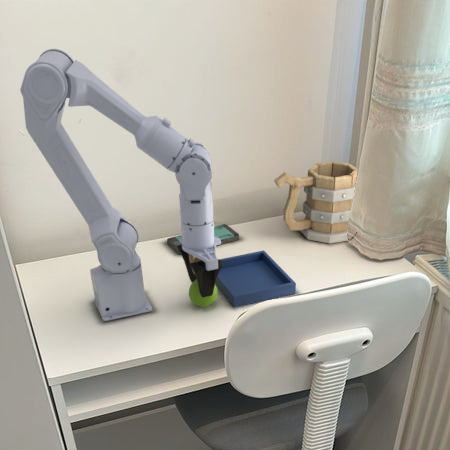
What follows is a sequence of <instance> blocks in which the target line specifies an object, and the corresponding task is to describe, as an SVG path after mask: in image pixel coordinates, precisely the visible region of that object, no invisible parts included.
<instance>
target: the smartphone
mask: <svg viewBox="0 0 450 450" xmlns="http://www.w3.org/2000/svg"><path fill="white" fill-rule="evenodd" d="M214 237H218V238H219V239H220V240H221V244H220V245H224V244H228V243H231V242H235V241H239V240H240V234H239V233H238V232H237V231H235V230H234V229H233V228H231V226H229V225H228V224H227V223H223V224H219V225H214ZM166 244H167V245H168V246H169V247H170V249H172V250H173V251H174V252H175V253H176V254H177V255H179V256H182V255H181V253H180V252H179V250H178V248H177V246H178V245H181V244H182V234H180V235H175V236H171V237H168V238H167V239H166ZM217 246H218V245H216V247H217Z"/></svg>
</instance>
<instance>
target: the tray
mask: <svg viewBox="0 0 450 450" xmlns="http://www.w3.org/2000/svg"><path fill="white" fill-rule="evenodd" d="M219 259H220V260H221V261H222V263H223V267H222V268H221V270H220V272H219V274H218V276H217V279H216V282H215V285H216V287H217V288H218V289H219V290H220V291H221V293H222V294H223V296H224V297H225V298H226V299H227V300H228V302H229V303H230V305H232V307H233V308H237V307H242V306H246V305H250V304H255V303H259V302H260V303H261V302H264V301H269V300H274V299H278V298H283V297H286V296H291V295H296V290H297V289H296V287H297V283H296V282H295V280H294V279H292V277H291V276H290V275H288V274H287V272H286V271H284V269H283V268H282V267H281V266H280V265H279V264H278V263H277V262H276V261H275V260H274V259H273V258H272V257H271V256H270V255H269V253H267V252H266V251H265V250H259V251H254V252H248V253H244V254H240V255H235V256H234V255H233V256H229V257H224V258H219Z"/></svg>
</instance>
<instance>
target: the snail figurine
mask: <svg viewBox="0 0 450 450" xmlns="http://www.w3.org/2000/svg"><path fill="white" fill-rule="evenodd" d="M188 254H189V253H188ZM189 261H190V263H193V262H198V261H200V259H198V258H196V257H194V256H193V255H191V254H189ZM200 262H201V261H200ZM192 271H193V269H192ZM193 273H194V271H193ZM194 274H195V273H194ZM218 294H219V293H218V286H217V285H216V284H215V287H214V291H213V295H212V296H208V297H202V296H201V294H200V291H199V287H198V282H197V279H196V280H195V281H193V282H191V284H190V285H189V288H188V297H189V299H190V301H191V302H192V303H193V304H194V305H195V306H198V307H201V308H206V307H209V306H211V305H212V304H214V303H215V301H216V300H217V297H218Z"/></svg>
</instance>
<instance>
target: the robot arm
mask: <svg viewBox="0 0 450 450" xmlns="http://www.w3.org/2000/svg"><path fill="white" fill-rule="evenodd" d="M23 75H24V76H23V79H22V82H21V85H20V89H19V91H20V94H21V96H22V100H23V101H22V102H23V111H24V122H25V123H24V124H25V128H26V130H27V131H26V132H27V133H28V134H29V136H30V137H31V139H32V141H33V142H34V143H35V145H36V147H37V148H38V150H39V151H40V153H41V154H42V156H43V157H44V159H45V161H46V162H47V164H48V165H49V167H50V168H51V170H52V171H53V173H54V175H55V176H56V178H57V179H58V181H59V182H60V184H61V185H62V187H63V189H64V191H65V192H66V194H68V196H69V198H70V199H71V201H72V202H73V204H74V205H75V207H76V209H77V210H78V211H79V213H80V214H81V216H82V218H83V219H84V221H85V222H86V224H87V225H88V230H89V234H90V239H91V243H92V244H93V246H94V248H95V250H96V253H97V260H98V262H99V265H98V266H96V267H93V268H90V270H89V272H90V279H91V284H92V285H91V286H92V291H93V295H94V296H93V297H94V298H93V299H94V303H95V307H96V308H97V310H98V313H99V314H100V317H101V319H102V321H103V322H109V321H113V320H118V319H122V318H126V317H131V316H136V315H140V314H141V315H142V314H145V313H149V312H152V311H153V307H152V305H151V303H150V302H149V300H148V298H147V296H146V291H145V284H144V275H143V267H142V260H141V257H140V255H138V252H137V250H136V248H137V244H138V242H139V231H138V229H137V227H136V226H135V225H134V224H133V223H132V222H130V221H129V220H128V219H126V218H125V217H124V215H123V214H122V213H121V210H119V209H117V208H115V207H113V206H112V204H111V202H110V201H109V199H108V198H107V196H106V195H105V193H104V191H103V189H102V188H101V186H100V184H99V183H98V181H97V180H96V178H95V176H94V175H93V173H92V171H91V170H90V168H89V166H88V165H87V163H86V162H85V160H84V158H83V157H82V155H81V154H80V152H79V151H78V148H77V147H76V145H75V143H74V141H73V140H72V139H71V138H70V136H69V134H68V132H67V130H66V129H65V127H64V126H63V124H62V118H63V114H64V109H65V106H66V101H67V99H68V104H67V106H68V107H70V108H71V107H85V106H87V107H91V108H93V109H94V110H96V111H97V112H98V113H100V114H102V115H103V116H105V117H106V118H108V119H109V120H110V121H112V122H114V123H115V124H117V125H118V126H120V127H121V128H123V129H124V130H125V131H127V132H128V133H130V134H132V135H133V136H134V139H135V143H136V147H137V149H139V150H140V151H141V152H143V153H144V154H145V155H147V156H149V157H150V158H151V159H153V160H154V161H155V162H157V163H158V164H159V165H161V166H162V167H163V168H165V169H166V170H167V171H169V172H172V173H175V174H174V175H175V176H174V177H175V179H176V182H177V183H178V184H179V195H178V198H179V199H178V200H179V212H180V225H181V226H180V227H181V228H180V230H181V231H180V232H181V235H182V244H181V245H178V246H177V248H178V250H179V252H180V253H181V255H180V256H181V257H182V259H183V262H184V264H185V265H184V266H185V268H186V272H187V276H188V278H189V281H190V282H191V283H192V282H193V281H195V280H196V279H197V282H198V287H199V291H200V294H201V296H202V297H208V296H212V295H213V291H214V287H215V285H216V283H215V282H216V279H217V276H218V274H219V272H220V270H221V268H222V267H223V263H222V261H221V260H220V259H221V258H218V256H217V246H220V245H222V244H221V240H220V239H219V238H218V237H214V227H215V221H214V218H215V217H214V197H213V195H214V193H213V191H212V188H213V187H212V186H213V185H212V178H213V172H212V157H211V154H210V152H209V151H208V149H207V148H206V147H205V145H204V144H202V143H200V142H196V141H195V140H194V139H192V138H189V139H188V138H186V137H185V136H184V135H183V134H181V132H179V131H177V130H176V129H175V128H174V127H172V126H171V125H172V121H171V120H169V119H168V118H167V117H163V119H162V118H161V117H159V116H158V115H151V116H146V115H144V114H142V113H141V112H140V111H139V110H138V109H137V108H136V107H134V106H133V105H132V104H130V103H129V102H128V101H127V100H126V99H125V98H123V97H122V95H120V94H118V92H116V91H115V90H114V89H112V88H111V87H110V86H109V85H108V84H107V83H105V82H104V81H103V80H102V79H101V78H100V77H98V76H97V75H96V74H95V73H93V72H92V71H91V70H90V69H89V68H88V66H86V65H85V64H83V63H82V62H81V61H79V60H77V59H75V60H74V59H73V58H72V56H70V54H68V52H66V51H64V50H62V49H59V48H49V49H46V50H44V51H43V52H42V53H41V54H40V55H39V57H38V58H37V59H36V60H35V61H34V62H32V63H31V64H30V65H29V66H28V67H27V69H26V70H25V72H24V74H23ZM216 245H217V246H216ZM188 253H189V254H191V255H193V256H194V257H196V258H198V259H200V261H201V262H200V261H198V262H193V263H190V261H189V254H188ZM192 269H193V271H194V273H195V274H194V273H193V271H192Z"/></svg>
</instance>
